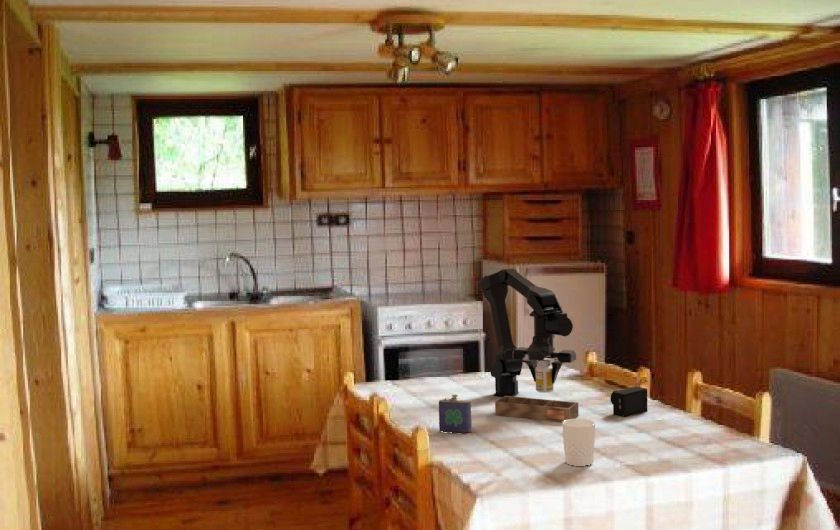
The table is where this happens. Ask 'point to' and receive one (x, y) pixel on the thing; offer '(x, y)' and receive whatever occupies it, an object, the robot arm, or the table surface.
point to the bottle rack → (536, 408)
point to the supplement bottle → (544, 376)
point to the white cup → (579, 441)
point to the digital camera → (629, 401)
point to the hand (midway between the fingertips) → (544, 382)
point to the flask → (455, 415)
